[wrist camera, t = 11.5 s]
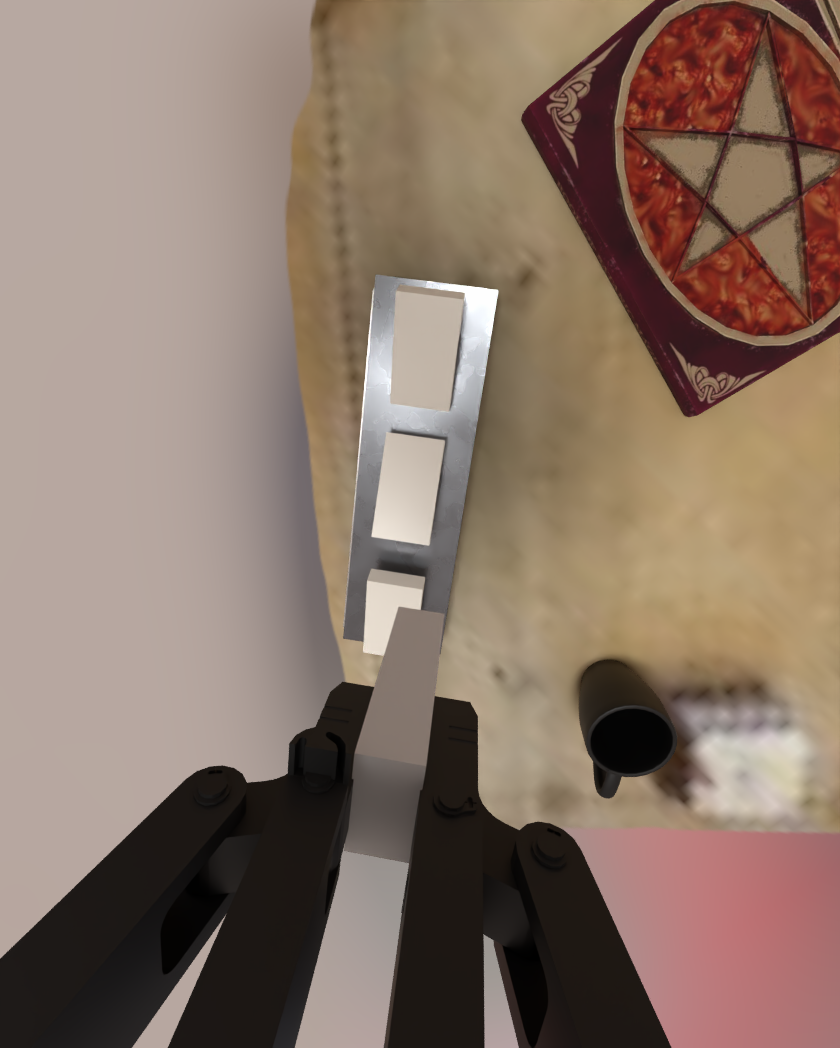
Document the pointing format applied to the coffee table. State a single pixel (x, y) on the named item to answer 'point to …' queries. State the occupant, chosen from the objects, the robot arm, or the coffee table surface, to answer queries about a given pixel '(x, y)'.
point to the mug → (622, 725)
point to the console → (422, 423)
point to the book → (709, 182)
